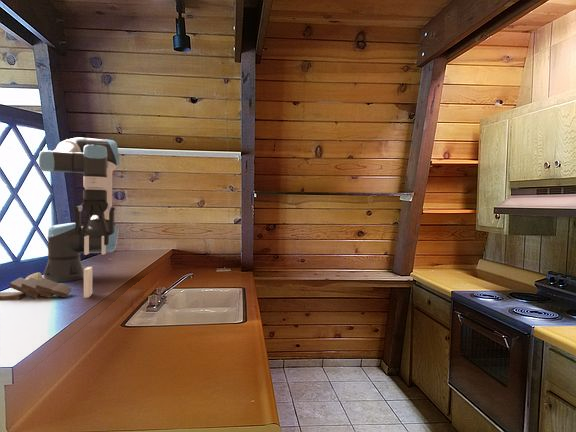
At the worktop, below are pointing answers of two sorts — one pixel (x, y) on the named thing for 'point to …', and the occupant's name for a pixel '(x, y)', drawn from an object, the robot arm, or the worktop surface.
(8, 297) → the domino
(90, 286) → the domino
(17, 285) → the domino
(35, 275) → the seashell
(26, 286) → the domino
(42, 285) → the domino
